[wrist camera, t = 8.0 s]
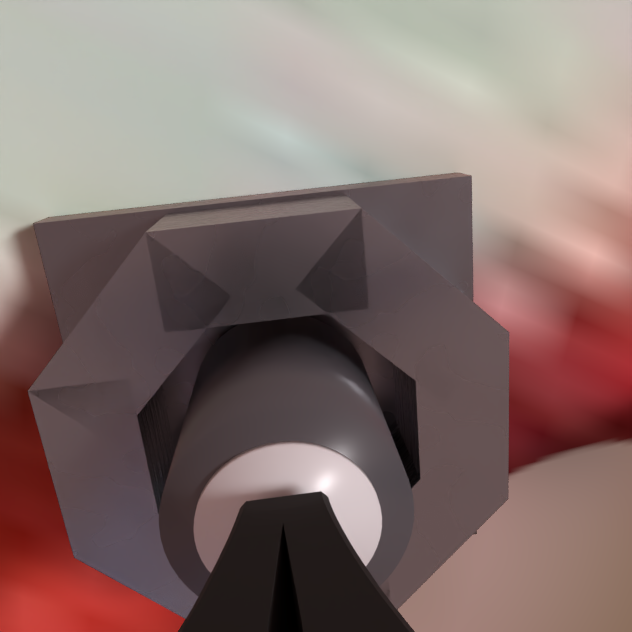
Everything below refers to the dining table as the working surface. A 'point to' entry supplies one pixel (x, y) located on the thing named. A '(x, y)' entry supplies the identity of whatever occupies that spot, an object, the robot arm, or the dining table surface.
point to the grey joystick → (263, 305)
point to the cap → (283, 446)
